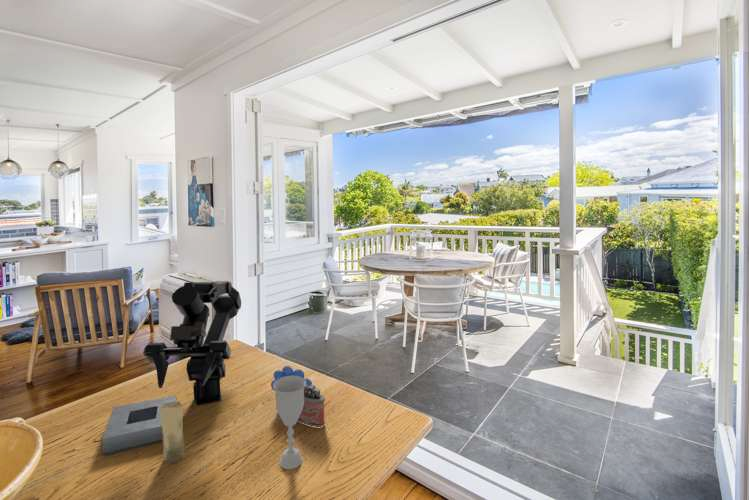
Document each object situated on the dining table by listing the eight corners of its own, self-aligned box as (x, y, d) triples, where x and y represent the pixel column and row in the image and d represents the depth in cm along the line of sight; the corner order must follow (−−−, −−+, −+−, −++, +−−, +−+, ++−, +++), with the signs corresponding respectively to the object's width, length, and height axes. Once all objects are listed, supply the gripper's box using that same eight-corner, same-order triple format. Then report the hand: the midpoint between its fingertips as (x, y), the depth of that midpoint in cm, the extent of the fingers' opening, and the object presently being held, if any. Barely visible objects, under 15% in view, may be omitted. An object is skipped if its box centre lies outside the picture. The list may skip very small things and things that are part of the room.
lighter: (327, 423, 96) (327, 386, 95) (320, 430, 93) (320, 392, 92) (301, 415, 100) (301, 379, 98) (293, 422, 97) (293, 385, 95)
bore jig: (176, 409, 102) (175, 395, 101) (175, 438, 89) (174, 423, 89) (114, 421, 95) (113, 407, 95) (103, 455, 83) (102, 438, 82)
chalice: (277, 450, 86) (276, 375, 83) (308, 449, 86) (307, 375, 84) (272, 473, 78) (270, 392, 76) (304, 472, 79) (304, 391, 77)
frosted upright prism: (184, 449, 86) (181, 399, 84) (184, 460, 82) (181, 408, 80) (164, 454, 84) (161, 403, 82) (163, 465, 80) (159, 413, 79)
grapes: (266, 415, 99) (265, 372, 98) (274, 402, 106) (273, 361, 104) (309, 417, 99) (309, 374, 97) (315, 403, 105) (314, 363, 104)
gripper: (143, 311, 89) (123, 376, 80) (226, 309, 92) (215, 372, 82) (159, 331, 98) (142, 392, 88) (234, 329, 100) (225, 388, 91)
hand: (181, 386), depth 87 cm, fingers open, 9 cm apart
